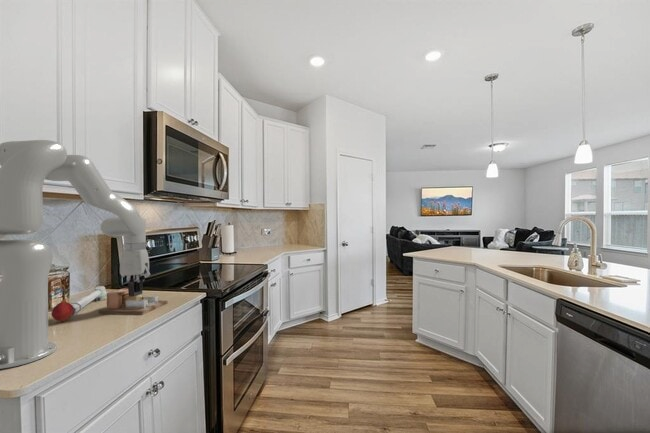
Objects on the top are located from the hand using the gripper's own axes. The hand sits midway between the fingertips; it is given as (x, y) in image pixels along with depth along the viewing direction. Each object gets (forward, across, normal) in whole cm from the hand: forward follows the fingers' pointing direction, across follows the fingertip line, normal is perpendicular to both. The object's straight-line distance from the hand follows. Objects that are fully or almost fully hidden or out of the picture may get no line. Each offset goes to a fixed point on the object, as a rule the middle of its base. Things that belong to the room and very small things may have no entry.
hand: (135, 290), depth 114 cm
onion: (+7, -15, -16) cm, 23 cm away
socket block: (+6, -7, 0) cm, 9 cm away
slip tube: (+5, -3, 0) cm, 6 cm away
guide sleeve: (+6, +3, 0) cm, 7 cm away
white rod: (+8, -24, +2) cm, 25 cm away
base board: (+7, 0, 0) cm, 7 cm away
